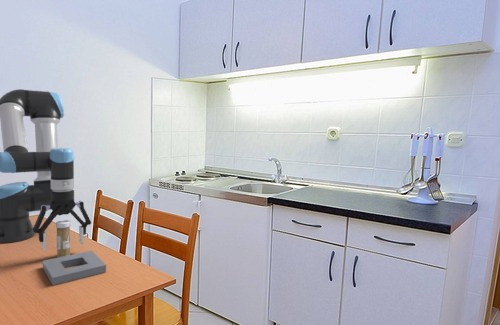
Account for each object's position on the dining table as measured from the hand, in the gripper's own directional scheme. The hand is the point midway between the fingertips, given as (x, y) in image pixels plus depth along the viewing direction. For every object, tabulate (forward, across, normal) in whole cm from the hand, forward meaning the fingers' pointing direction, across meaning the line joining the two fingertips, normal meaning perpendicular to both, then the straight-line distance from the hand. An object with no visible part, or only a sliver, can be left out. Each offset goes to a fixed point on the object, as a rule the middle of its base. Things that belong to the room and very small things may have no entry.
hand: (63, 246), depth 123 cm
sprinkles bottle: (+4, 0, 0) cm, 4 cm away
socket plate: (+4, 0, -15) cm, 15 cm away
